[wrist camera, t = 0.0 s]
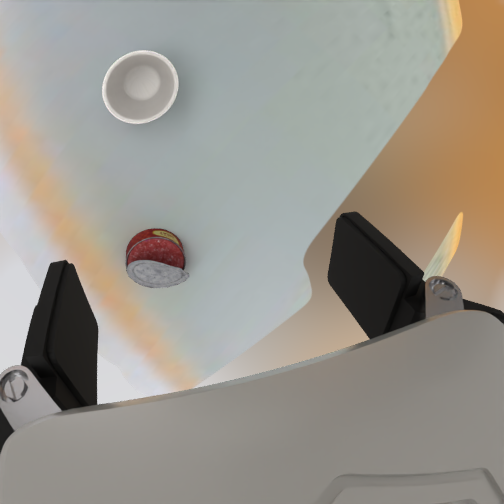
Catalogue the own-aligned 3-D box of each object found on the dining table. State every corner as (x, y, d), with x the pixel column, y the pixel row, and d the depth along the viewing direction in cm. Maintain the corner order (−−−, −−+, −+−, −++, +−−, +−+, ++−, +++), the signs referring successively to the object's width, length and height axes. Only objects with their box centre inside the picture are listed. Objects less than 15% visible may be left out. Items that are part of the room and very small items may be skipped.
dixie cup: (155, 42, 35) (157, 36, 27) (182, 92, 40) (191, 99, 32) (101, 74, 35) (88, 77, 27) (130, 122, 40) (125, 138, 32)
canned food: (181, 239, 58) (205, 284, 54) (135, 267, 57) (155, 313, 53) (159, 207, 48) (186, 258, 44) (105, 241, 47) (125, 294, 43)
